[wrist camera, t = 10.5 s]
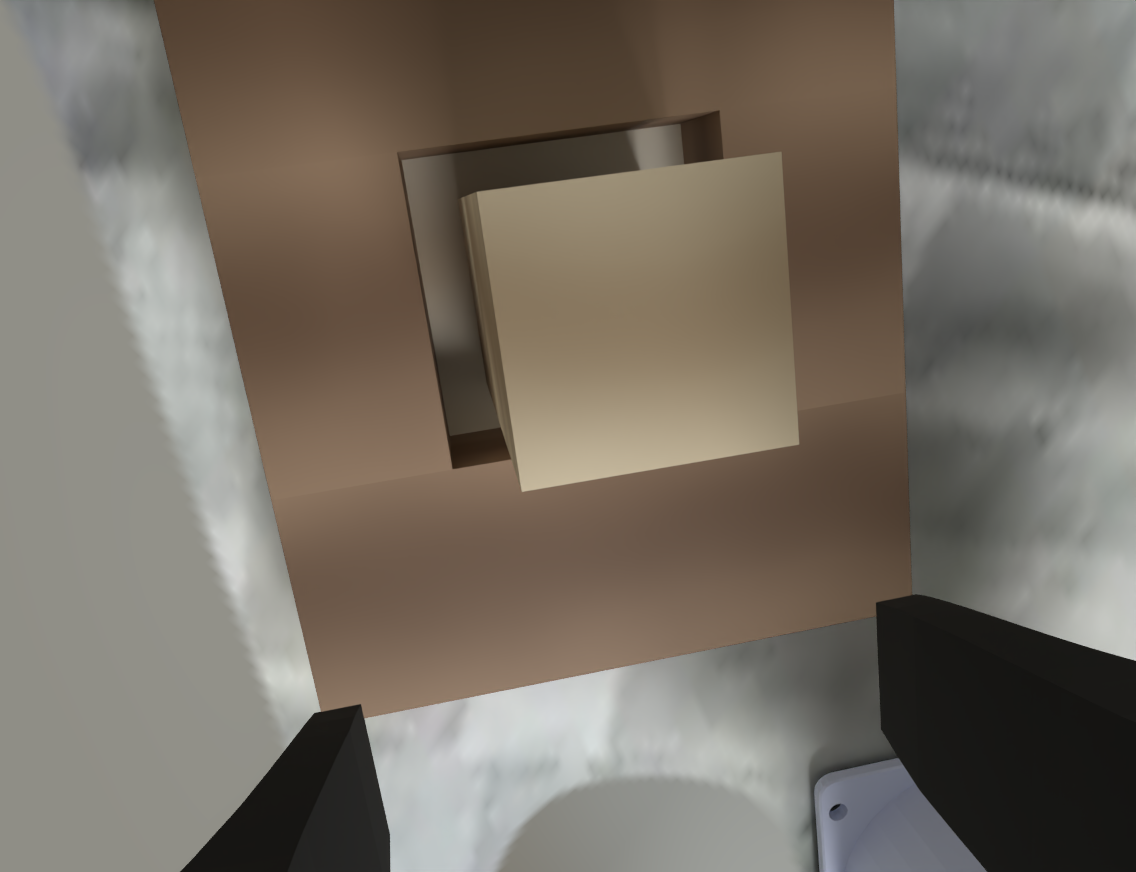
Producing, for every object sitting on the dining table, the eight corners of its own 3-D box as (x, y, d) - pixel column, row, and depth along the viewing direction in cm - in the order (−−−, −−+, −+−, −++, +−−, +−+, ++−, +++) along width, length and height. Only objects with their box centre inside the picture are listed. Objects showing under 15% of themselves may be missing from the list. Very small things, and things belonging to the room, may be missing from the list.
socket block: (851, 558, 23) (912, 609, 20) (339, 656, 21) (324, 726, 18) (815, -149, 18) (886, -215, 15) (172, -86, 17) (119, -147, 14)
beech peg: (659, 355, 20) (799, 445, 13) (486, 382, 20) (522, 492, 12) (641, 175, 19) (781, 151, 11) (457, 199, 19) (476, 191, 11)
